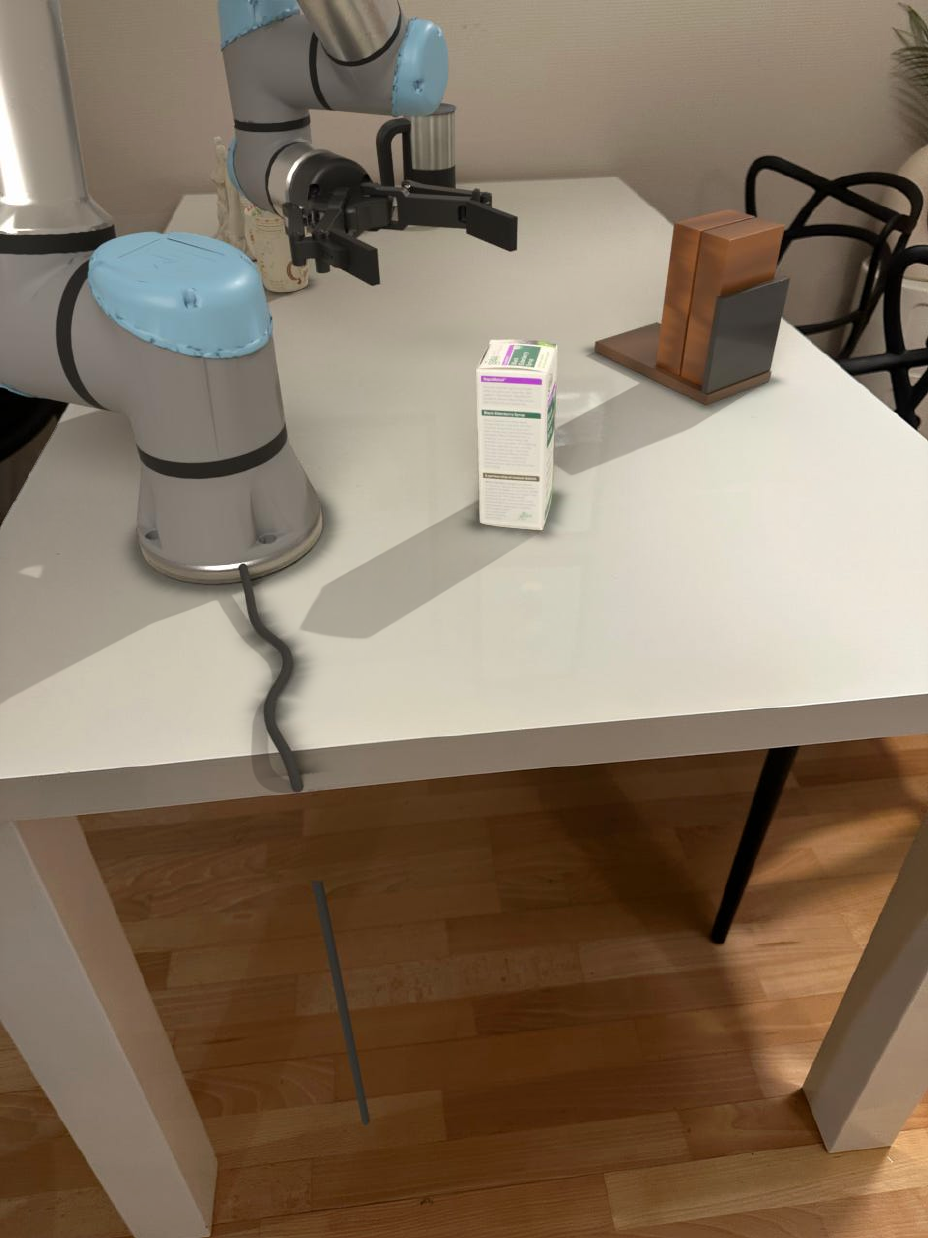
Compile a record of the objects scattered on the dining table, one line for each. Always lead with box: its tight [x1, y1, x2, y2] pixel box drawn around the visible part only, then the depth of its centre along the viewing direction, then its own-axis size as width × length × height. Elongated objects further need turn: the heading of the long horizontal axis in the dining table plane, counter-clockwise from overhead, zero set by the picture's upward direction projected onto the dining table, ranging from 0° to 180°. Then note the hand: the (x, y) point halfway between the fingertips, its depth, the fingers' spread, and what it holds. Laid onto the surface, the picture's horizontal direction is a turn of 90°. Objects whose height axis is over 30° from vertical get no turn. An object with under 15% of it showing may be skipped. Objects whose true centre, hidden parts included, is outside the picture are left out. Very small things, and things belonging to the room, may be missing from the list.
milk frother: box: [375, 102, 457, 189], centre depth 147 cm, size 14×16×15 cm
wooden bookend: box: [594, 208, 791, 406], centre depth 97 cm, size 18×10×16 cm, turn 35°
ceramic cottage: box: [210, 136, 312, 261], centre depth 136 cm, size 16×16×15 cm
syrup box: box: [475, 338, 558, 531], centre depth 74 cm, size 6×6×14 cm
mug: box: [244, 205, 309, 293], centre depth 122 cm, size 8×13×10 cm, turn 47°
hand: (447, 250), depth 72 cm, fingers open, 13 cm apart
